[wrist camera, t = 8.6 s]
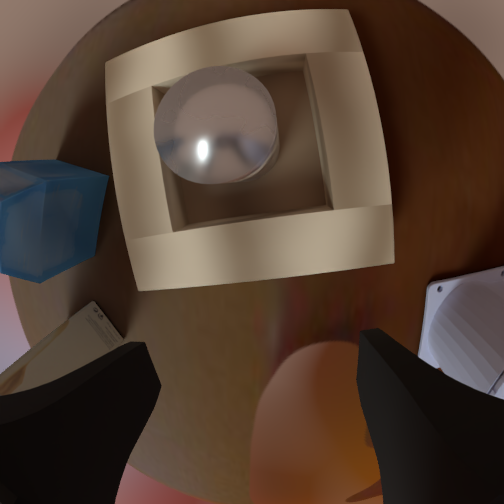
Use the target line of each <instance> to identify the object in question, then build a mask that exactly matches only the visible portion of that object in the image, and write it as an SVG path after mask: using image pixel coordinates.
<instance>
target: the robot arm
mask: <svg viewBox="0 0 504 504" xmlns="http://www.w3.org/2000/svg"><path fill="white" fill-rule="evenodd" d="M501 272H502V273H501ZM439 286H441V287H440V289H439V290H437V289H438V287H439ZM439 367H441V369H442V370H443V372H444V373H445V374H444V373H443V372H441V371H439V370H438V369H436V368H439ZM356 380H357V386H358V391H359V397H360V402H361V407H362V409H363V413H364V416H365V419H366V423H367V426H368V429H369V432H370V436H371V439H372V442H373V446H374V449H375V453H376V456H377V460H378V464H379V469H380V476H381V484H382V492H383V504H504V266H501V267H497V268H493V269H489V270H485V271H481V272H476V273H472V274H467V275H463V276H458V277H454V278H449V279H444V280H439V281H434V282H431V283H430V284H429V285H428V287H427V293H426V303H425V312H424V320H423V327H422V334H421V340H420V346H419V352H418V356H416V355H415V354H413V353H412V352H411V351H409V350H408V349H406V348H405V347H404V346H402V345H401V344H400V343H398V342H397V341H395V340H394V339H393V338H391V337H390V336H389V335H387V334H386V333H385V332H383V331H382V330H380V329H379V328H376V329H370V330H363V331H360V340H359V356H358V368H357V379H356ZM161 386H162V385H161V383H160V380H159V378H158V375H157V373H156V371H155V368H154V365H153V363H152V360H151V358H150V355H149V352H148V350H147V347H146V344H145V342H129V343H126V344H124V345H122V346H120V347H118V348H116V349H114V350H112V351H110V352H108V353H106V354H104V355H103V356H101V357H99V358H97V359H95V360H93V361H92V362H90V363H88V364H86V365H84V366H82V367H80V368H78V369H76V370H74V371H72V372H70V373H68V374H66V375H64V376H62V377H60V378H58V379H56V380H53V381H51V382H49V383H46V384H43V385H40V386H38V387H35V388H32V389H28V390H24V391H21V392H17V393H13V394H8V395H2V396H0V504H115V499H116V495H117V492H118V488H119V485H120V481H121V478H122V475H123V472H124V469H125V466H126V463H127V461H128V458H129V456H130V454H131V452H132V450H133V448H134V446H135V444H136V442H137V440H138V438H139V436H140V435H141V433H142V431H143V429H144V427H145V425H146V423H147V421H148V419H149V417H150V415H151V413H152V411H153V409H154V407H155V404H156V401H157V399H158V396H159V392H160V389H161Z"/></svg>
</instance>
